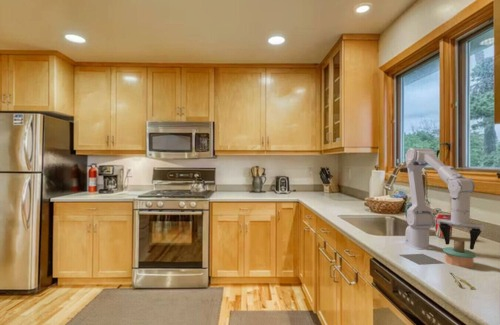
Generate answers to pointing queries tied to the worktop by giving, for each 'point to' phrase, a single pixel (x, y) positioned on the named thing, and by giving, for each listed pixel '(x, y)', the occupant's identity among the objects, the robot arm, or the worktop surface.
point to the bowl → (459, 261)
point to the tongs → (463, 282)
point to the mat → (421, 259)
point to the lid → (459, 250)
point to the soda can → (438, 230)
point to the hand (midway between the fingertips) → (459, 246)
